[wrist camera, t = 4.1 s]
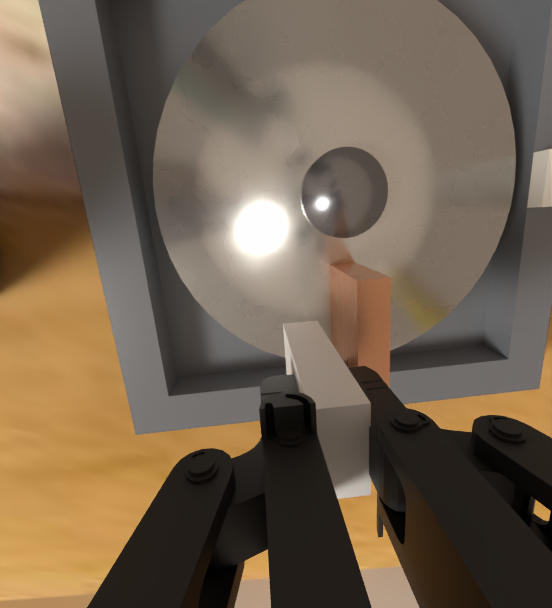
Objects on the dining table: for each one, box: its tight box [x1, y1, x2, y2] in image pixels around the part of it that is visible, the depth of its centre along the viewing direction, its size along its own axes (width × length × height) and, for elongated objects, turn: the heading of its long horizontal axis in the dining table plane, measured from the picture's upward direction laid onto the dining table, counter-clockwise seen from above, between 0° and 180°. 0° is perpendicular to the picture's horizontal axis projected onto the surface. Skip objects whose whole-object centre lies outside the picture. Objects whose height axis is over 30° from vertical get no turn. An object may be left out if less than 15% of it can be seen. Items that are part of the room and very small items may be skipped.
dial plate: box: [39, 0, 552, 435], centre depth 15 cm, size 22×22×4 cm
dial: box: [153, 0, 516, 386], centre depth 13 cm, size 16×16×6 cm
